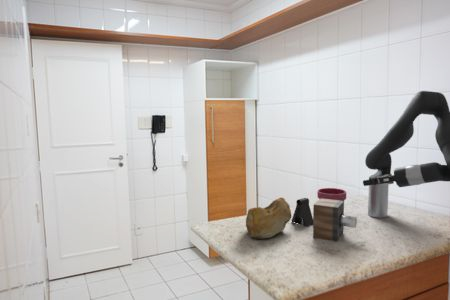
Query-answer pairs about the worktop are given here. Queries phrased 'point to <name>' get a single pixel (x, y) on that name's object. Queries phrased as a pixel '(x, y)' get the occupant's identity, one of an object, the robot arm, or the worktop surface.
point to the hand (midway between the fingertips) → (367, 182)
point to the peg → (348, 221)
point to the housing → (327, 219)
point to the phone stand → (303, 213)
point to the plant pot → (332, 194)
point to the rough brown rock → (268, 219)
